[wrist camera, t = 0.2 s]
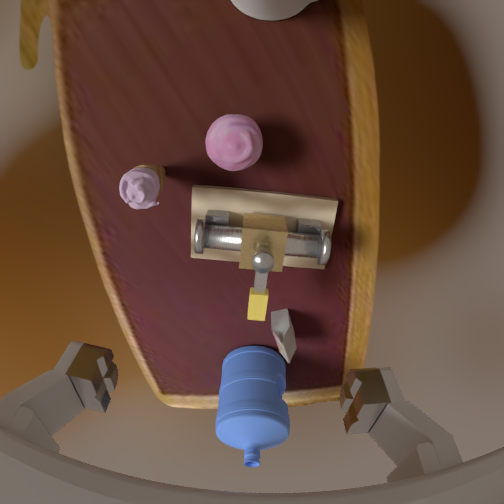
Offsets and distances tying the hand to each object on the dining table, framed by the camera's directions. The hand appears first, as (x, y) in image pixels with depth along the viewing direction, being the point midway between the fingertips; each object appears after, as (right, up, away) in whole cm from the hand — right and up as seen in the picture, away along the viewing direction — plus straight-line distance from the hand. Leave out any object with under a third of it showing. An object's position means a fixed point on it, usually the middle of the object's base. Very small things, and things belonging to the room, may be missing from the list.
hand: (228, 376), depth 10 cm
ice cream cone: (-15, +19, +44) cm, 51 cm away
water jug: (+1, -24, +66) cm, 70 cm away
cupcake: (-2, +24, +42) cm, 48 cm away
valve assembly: (+3, +9, +49) cm, 50 cm away
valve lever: (+2, -1, +40) cm, 40 cm away
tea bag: (+8, -11, +59) cm, 61 cm away
